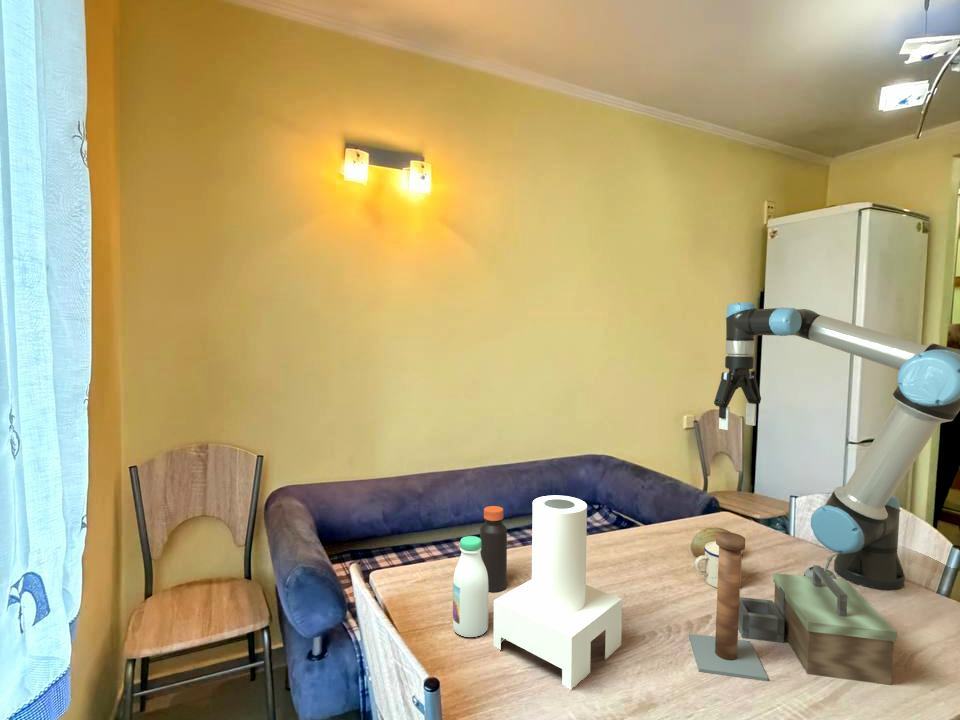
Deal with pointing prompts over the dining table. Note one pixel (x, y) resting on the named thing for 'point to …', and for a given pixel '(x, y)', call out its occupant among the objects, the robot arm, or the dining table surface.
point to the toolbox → (823, 627)
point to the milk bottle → (470, 590)
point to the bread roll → (704, 539)
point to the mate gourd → (810, 570)
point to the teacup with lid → (711, 563)
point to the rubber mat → (711, 663)
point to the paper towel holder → (559, 595)
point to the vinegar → (494, 548)
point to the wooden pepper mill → (728, 594)
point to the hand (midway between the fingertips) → (737, 427)
